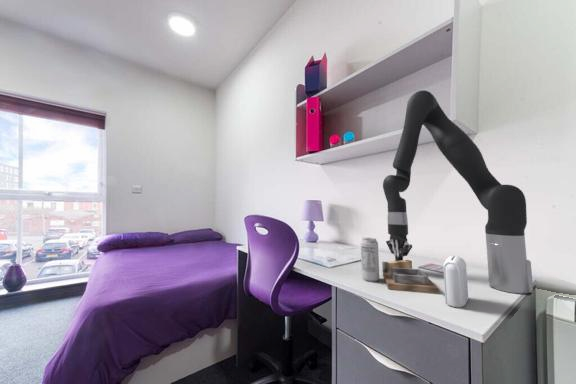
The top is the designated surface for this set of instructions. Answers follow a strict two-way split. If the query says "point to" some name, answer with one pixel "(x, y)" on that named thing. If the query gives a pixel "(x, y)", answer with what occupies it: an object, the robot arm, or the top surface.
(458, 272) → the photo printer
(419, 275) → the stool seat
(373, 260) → the energy drink can
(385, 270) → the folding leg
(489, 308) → the top surface
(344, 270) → the top surface
